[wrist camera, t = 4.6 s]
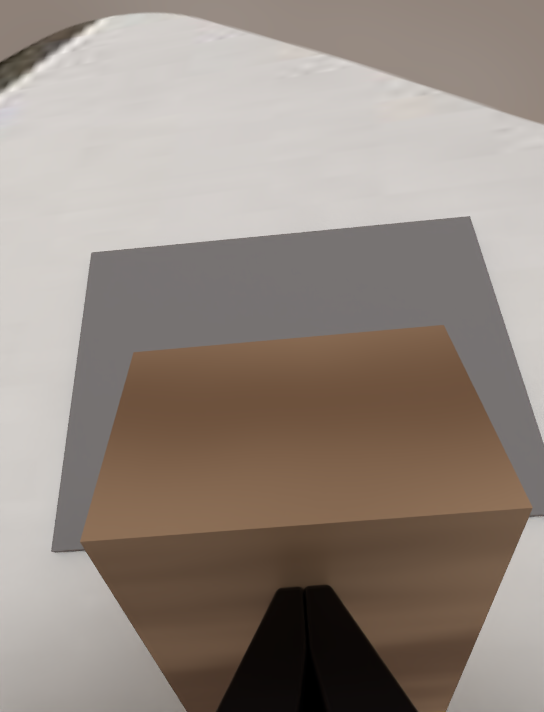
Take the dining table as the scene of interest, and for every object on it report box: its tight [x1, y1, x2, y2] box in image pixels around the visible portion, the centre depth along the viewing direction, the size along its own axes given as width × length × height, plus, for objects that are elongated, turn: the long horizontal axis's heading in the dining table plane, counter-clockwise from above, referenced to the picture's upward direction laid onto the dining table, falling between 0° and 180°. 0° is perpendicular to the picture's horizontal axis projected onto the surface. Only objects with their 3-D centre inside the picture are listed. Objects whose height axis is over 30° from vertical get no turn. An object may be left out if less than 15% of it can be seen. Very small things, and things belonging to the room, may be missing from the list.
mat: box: [51, 216, 544, 552], centre depth 18 cm, size 13×16×1 cm
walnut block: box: [80, 325, 533, 712], centre depth 11 cm, size 4×6×9 cm, turn 94°
